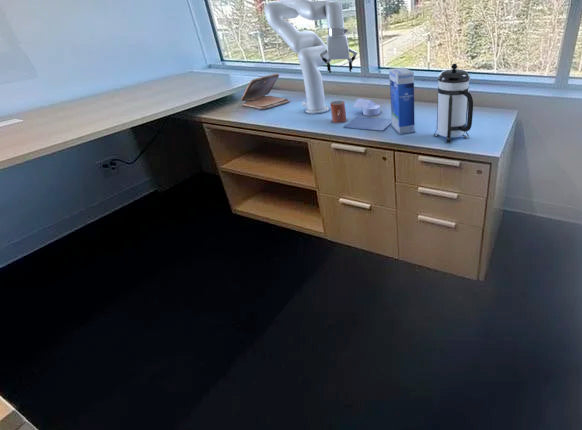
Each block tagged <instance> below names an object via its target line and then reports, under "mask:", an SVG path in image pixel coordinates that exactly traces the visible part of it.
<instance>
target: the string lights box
mask: <svg viewBox="0 0 582 430" xmlns="http://www.w3.org/2000/svg"><path fill="white" fill-rule="evenodd" d="M388 75H389V93H390V110H391V111H390V112H391V120H392V123H391V126H392V127H393V128H394V130H395V131H396V133H398V134H399V135H404V134H410V133H415V132H416V131H415V129H416V128H415V125H416V123H415V122H416V121H415V73H414V71H412V70H410V69H408V68H406V67H403V66H402V67H397V68H389V69H388Z"/></svg>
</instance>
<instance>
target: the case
mask: <svg viewBox="0 0 582 430" xmlns="http://www.w3.org/2000/svg"><path fill="white" fill-rule="evenodd" d="M279 77H280V74H279V73H272V74H269V75H264V76H261V77H257V78H253V79H251V80H250V81H249V83H248V85H247V86H246V88H245V90H244V91H243V94H242V96H241V98H240V101H242V102H243V103H242V105H243V106H244V107H248V108H249V107H250V108H254V109H259V110H267V109H271V108H275V107H277V106H281V105H285V104H288V103H290V99H288V98H285V97H279V96H274V95H269V94H270V93H271V91H272V89H273V87H274V86H275V84H276V82H277V80H278V79H279Z"/></svg>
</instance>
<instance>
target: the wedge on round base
mask: <svg viewBox="0 0 582 430" xmlns="http://www.w3.org/2000/svg"><path fill="white" fill-rule="evenodd" d="M352 106H353V107H352V108H358V109H362V114H363V115H364V116H367V117H371V116H372V117H373V116H378V115H380V114H381V106H380V104H376V103H375V102H374V101H373V100H371V99H367V98H359V97H357V98H356V101H355V102H354V104H353V105H352Z"/></svg>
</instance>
